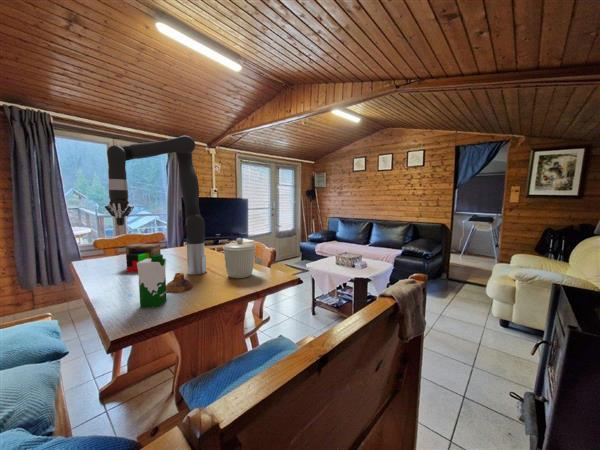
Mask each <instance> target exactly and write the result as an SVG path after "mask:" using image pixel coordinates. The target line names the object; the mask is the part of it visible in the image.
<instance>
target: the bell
mask: <svg viewBox="0 0 600 450" xmlns="http://www.w3.org/2000/svg"><path fill="white" fill-rule="evenodd" d="M192 288H193V283H192V282H191V281H190V280H188V279H186V278H185V274H184V273H183V272H176V273H174V277H173V279H171V281H169V282H168V283H166V293H167V292H168V293H172V294H173V293H174V294H175V293H183V292H186V291H189V290H191V289H192Z"/></svg>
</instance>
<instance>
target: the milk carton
mask: <svg viewBox="0 0 600 450" xmlns="http://www.w3.org/2000/svg"><path fill="white" fill-rule="evenodd" d="M166 265H167V258H164V255H163V254H157V255H152V256H151V259H145V260H142V261H140V262H138V263H137V267H138V272H137V274H138V287H139V288H138V290H139V291H138V292H139V307H140V308H141V309H143V308H144V309H145V308H146V309H147V308H160V307H161V306H162V305H163V304H164V303H166V302H167V300H168V299H167V291H166V285H167V279H166V278H167V277H166Z"/></svg>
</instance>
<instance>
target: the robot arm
mask: <svg viewBox="0 0 600 450" xmlns="http://www.w3.org/2000/svg"><path fill="white" fill-rule="evenodd" d="M195 148H196V143H195V140H194V139H193V138H192V137H190V136H188V135H181V136H179V137H178V136H177V137H175V138H171V139H166V140H160V141H159V140H158V141H151V142H150V141H149V142H141V143H132V144H130V145H123V146H119V145H117V144H114V145H111V146H109V147H108V148H107V150H106V155H107V164H108V169H107V172H108V173H107V174H108V184H107V185H108V198H109V204H108V205H105V206H104V208H105V210H106V211H107V212H108V213H109V214H110V216H112V217H114V218H115V219H116V225H117V226H124V225H125V217H129V216H130V214H131V213H132V211H133V209H134V208H135V207H134V205H131V204H130V203H129V187H128V186H129V185H128V181H127V178H128V177H127V169H126V167H127V165H126V164H127V163H126V162H127V161H131V160H139V159H147V158H152V157H157V156H158V157H159V156H161V155H166V154H172V153H173V154H174V153H175V154H176V159H177V163H178V175H179V184H180V191H181V196H182V199H183V204H184V208H185V209H184V210H185V226H186V257H187V258H186V259H187V261H186V263H187V274H188V275H191V276H193V275H194V276H195V275H203V274H205V272H207V255H206V253H205V239H206V232H205V231H206V224H205V219H204V218H203V217H202V215H201V211H200V210H201V209H200V207H199V205H200V204H199V201H200V187H199V186H200V185H199V179H198V176H197V172H196V169H195V167H194V165H193V157H192V156H193V154H192V153H193V152H194V151H195Z"/></svg>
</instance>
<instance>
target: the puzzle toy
mask: <svg viewBox="0 0 600 450" xmlns="http://www.w3.org/2000/svg"><path fill="white" fill-rule="evenodd" d="M125 258H126V259H125V260H127V262H126V273H138V267H137V263H138V262H140V261H142V260H145V259H151V252H147V251H137V252H134V253H131V254H128V255H126V254H125Z"/></svg>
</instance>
